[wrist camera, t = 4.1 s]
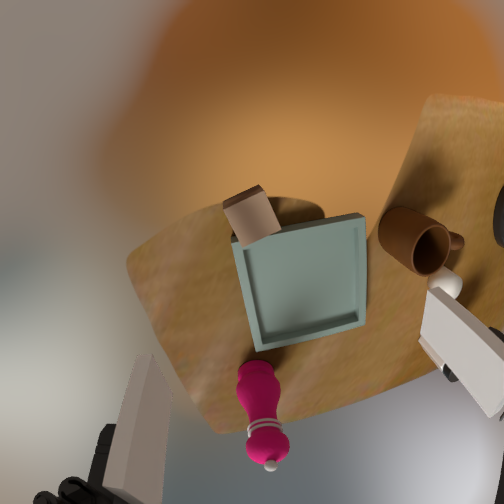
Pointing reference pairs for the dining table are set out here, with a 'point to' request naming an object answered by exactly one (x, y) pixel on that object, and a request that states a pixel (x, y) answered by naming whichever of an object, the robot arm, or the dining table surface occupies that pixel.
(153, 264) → the dining table surface
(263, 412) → the pepper mill
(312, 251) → the tray
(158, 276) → the dining table surface
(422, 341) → the jar
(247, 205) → the block
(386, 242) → the mug
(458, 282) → the white rounded cylinder
